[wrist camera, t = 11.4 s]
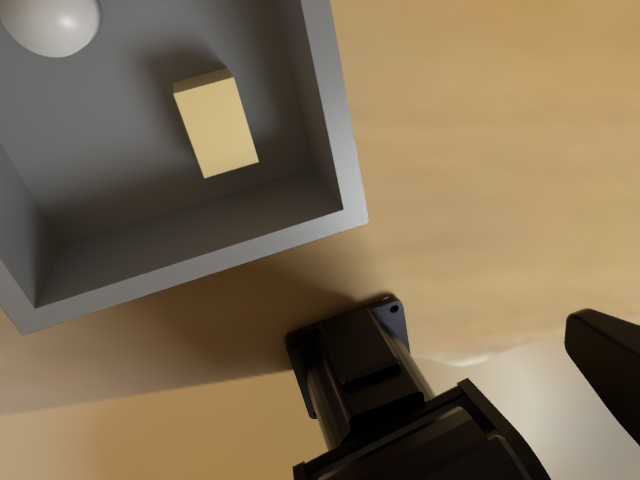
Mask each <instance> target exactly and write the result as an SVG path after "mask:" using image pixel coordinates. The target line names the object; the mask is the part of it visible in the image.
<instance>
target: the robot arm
mask: <svg viewBox="0 0 640 480" xmlns="http://www.w3.org/2000/svg"><path fill="white" fill-rule="evenodd" d="M394 305H395V307H394V308H391V307H392V306H394ZM390 308H391V309H390ZM294 340H298V341H297V342H295V343H291V342H292V341H294ZM284 343H285V346H286V349H287V352H288V355H289V358H290V361H291V364H292V367H293V370H294V372H295V375H296V378H297V381H298V384H299V387H300V390H301V393H302V396H303V399H304V402H305V405H306V408H307V411H308V414H309V416H310V417H311V418H312V419H318V421H319V425H320V427H321V431H322V434H323V437H324V440H325V443H326V446H327V449H328V452H326V453H324V454H322V455H320V456H318V457H316V458H314V459H312V460H310V461H308V462H306V463H305V462H304V461H303V462H301V463H300V464H297V465H296V466H293V475H294V480H551V479H550V477H549V475H548V473H547V472H546V470H545V469H544V467H543V465H542V464H541V462H540V461H539V459H538V458H537V456H536V455H535V453H534V452H533V450H532V449H531V447H530V446H529V445H528V443H527V442H526V441H525V440H524V438H523V437H522V436H521V435H520V433H519V432H518V431H517V430H516V429H515V428H514V427H513V426H512V425H511V423H509V421H508V420H507V419H506V418H505V417H504V416H503V415H502V414H501V413H500V412H499V411H498V410H497V408H496V407H494V405H493V404H492V403H491V402H490V401H489V400H488V399H487V398H486V397H485V396H484V395H483V394H482V393H481V391H480V390H479V389H478V388H477V387H476V386H475V385H474V384H473V383H472V382H471V381H470V380H469V379H468V378H466V379H464V380H462V381H460V382H458V383H457V386H455V387H453V388H451V389H450V390H447V391H445V392H443V393H441V394H439V395H437V396H436V395H435V393H434V392H433V390H432V389H431V387H430V385H429V384H428V383H427V381H426V379H425V378H424V376H423V375H422V373H421V371H420V370H419V368H418V366H417V365H416V363H415V362H414V360H413V358H412V357H411V355H410V349H409V342H408V336H407V329H406V322H405V315H404V309H403V305H402V303H401V301H400V300H399V299H398V298H397V297H391V298H388V299H385V300H382V301H379V302H376V303H373V304H370V305H368V306H365V307H362V308H359V309H356V310H353V311H350V312H347V313H345V314H342V315H339V316H336V317H333V318H330V319H327V320H325V321H322V322H319V323H316V324H313V325H310V326H307V327H305V328H302V329H299V330H296V331H293V332H291V333H289V334H287V335H286V336H285V339H284ZM564 343H565V349H566V351H567V353H568V355H569V356H570V357H571V359H572V360H573V362H574V363H575V364H576V366H577V367H578V368H579V370H580V371H581V373H582V374H583V375H584V377H585V378H586V379H587V381H588V382H589V384H590V385H591V386H592V388H593V389H594V390H595V391H596V393H597V394H598V396H599V397H600V398H601V400H602V401H603V403H604V404H605V405H606V407H607V408H608V409H609V411H610V412H611V413H612V414H613V416H614V417H615V418H616V420H617V421H618V422H619V423H620V424H621V425H622V427H623V428H624V429H625V430H626V431H627V432H628V433H629V434H630V436H631V437H632V438H633V439H634V440H635V441H636V442H637V443H638V445H639V446H640V326H639V325H636V324H634V323H631V322H628V321H625V320H622V319H619V318H616V317H613V316H610V315H607V314H604V313H602V312H599V311H596V310H593V309H582V310H579V311H577V312H574V313H571V314H570V315H569V316H568V317H567V320H566V330H565V341H564Z"/></svg>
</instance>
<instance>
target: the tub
mask: <svg viewBox="0 0 640 480" xmlns="http://www.w3.org/2000/svg"><path fill="white" fill-rule="evenodd" d="M366 223H369V219H368V213H367V208H366V202H365V196H364V191H363V185H362V180H361V174H360V168H359V163H358V157H357V151H356V146H355V140H354V134H353V129H352V123H351V117H350V112H349V106H348V100H347V95H346V89H345V83H344V78H343V72H342V66H341V61H340V55H339V50H338V44H337V38H336V33H335V27H334V21H333V16H332V10H331V4H330V0H0V306H1V307H2V309H3V310H4V312H5V313H6V314H7V316H8V317H9V318H10V320H11V321H12V322H13V324H14V325H15V327H16V328H17V329H18V331H19V332H20V333H21V335H22V336H23V335H26V334H29V333H32V332H35V331H39V330H42V329H45V328H48V327H51V326H54V325H57V324H60V323H63V322H66V321H69V320H72V319H75V318H78V317H81V316H84V315H88V314H91V313H94V312H97V311H100V310H103V309H106V308H109V307H112V306H115V305H118V304H121V303H124V302H127V301H130V300H133V299H136V298H140V297H143V296H146V295H149V294H152V293H155V292H158V291H161V290H164V289H167V288H170V287H173V286H176V285H179V284H182V283H185V282H189V281H192V280H195V279H198V278H201V277H204V276H207V275H210V274H213V273H216V272H219V271H222V270H225V269H228V268H231V267H234V266H238V265H241V264H244V263H247V262H250V261H253V260H256V259H259V258H262V257H265V256H268V255H271V254H274V253H277V252H280V251H283V250H287V249H290V248H293V247H296V246H299V245H302V244H305V243H308V242H311V241H314V240H317V239H320V238H323V237H326V236H329V235H332V234H336V233H339V232H342V231H345V230H348V229H351V228H354V227H357V226H360V225H363V224H366Z"/></svg>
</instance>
